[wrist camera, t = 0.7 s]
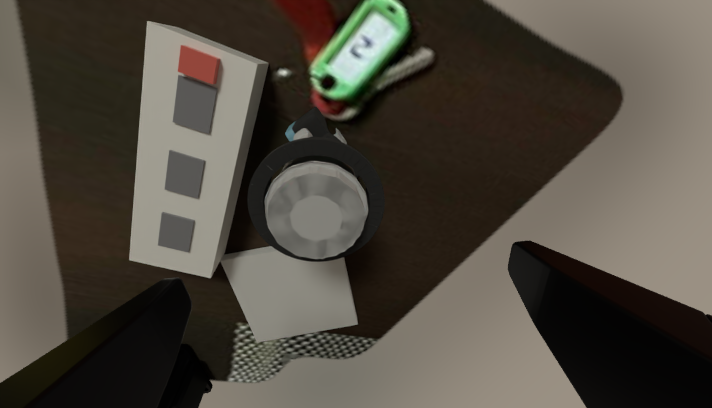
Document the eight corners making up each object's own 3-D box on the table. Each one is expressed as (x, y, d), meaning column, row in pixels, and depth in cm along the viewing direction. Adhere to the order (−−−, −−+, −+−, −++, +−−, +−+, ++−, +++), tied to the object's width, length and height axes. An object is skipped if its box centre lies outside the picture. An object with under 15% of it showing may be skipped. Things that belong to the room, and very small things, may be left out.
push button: (387, 170, 21) (431, 254, 12) (326, 210, 22) (324, 315, 13) (331, 86, 18) (332, 113, 9) (264, 137, 19) (207, 205, 10)
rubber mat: (259, 334, 27) (257, 342, 26) (223, 254, 23) (220, 261, 22) (357, 317, 27) (358, 324, 26) (338, 234, 23) (339, 239, 22)
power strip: (224, 252, 23) (208, 283, 20) (154, 235, 22) (124, 264, 18) (268, 63, 17) (255, 64, 14) (177, 27, 16) (141, 19, 13)
